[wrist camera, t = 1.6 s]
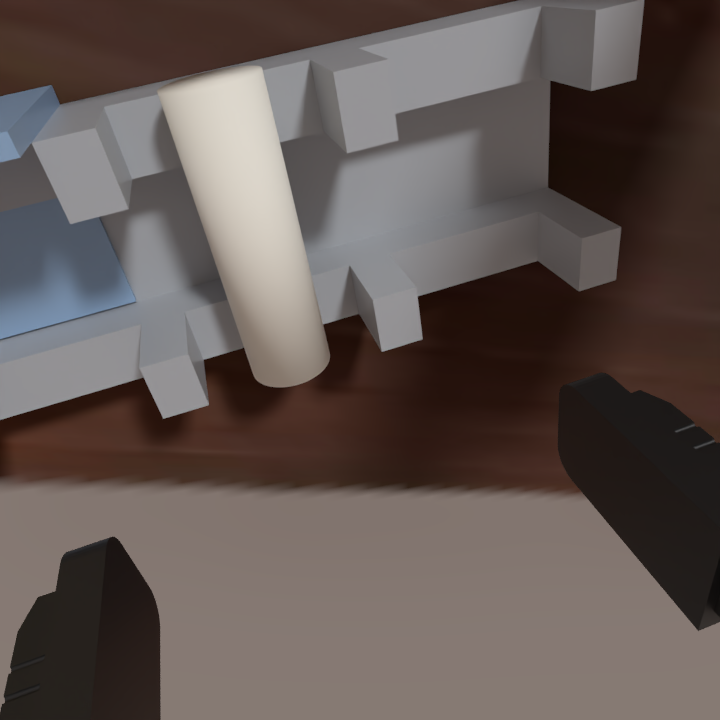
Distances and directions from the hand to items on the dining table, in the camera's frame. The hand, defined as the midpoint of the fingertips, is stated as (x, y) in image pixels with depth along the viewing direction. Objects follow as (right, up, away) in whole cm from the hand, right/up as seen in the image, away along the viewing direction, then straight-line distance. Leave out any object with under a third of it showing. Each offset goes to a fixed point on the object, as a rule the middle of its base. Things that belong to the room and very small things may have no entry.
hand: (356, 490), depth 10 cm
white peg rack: (-4, +8, +12) cm, 16 cm away
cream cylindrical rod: (-4, +7, +10) cm, 13 cm away
